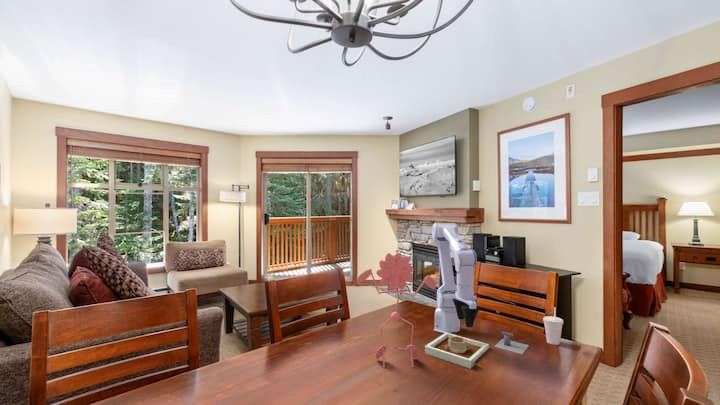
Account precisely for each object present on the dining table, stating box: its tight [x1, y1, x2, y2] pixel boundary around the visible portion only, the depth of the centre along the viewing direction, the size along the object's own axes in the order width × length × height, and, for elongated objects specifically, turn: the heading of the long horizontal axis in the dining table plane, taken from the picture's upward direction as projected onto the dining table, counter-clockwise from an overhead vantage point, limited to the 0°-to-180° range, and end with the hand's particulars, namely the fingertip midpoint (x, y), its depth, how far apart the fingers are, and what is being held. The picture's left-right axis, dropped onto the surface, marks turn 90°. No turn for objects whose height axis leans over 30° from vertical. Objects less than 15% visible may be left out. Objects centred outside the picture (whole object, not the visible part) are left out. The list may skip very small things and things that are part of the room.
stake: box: [494, 330, 529, 355], centre depth 116 cm, size 9×9×5 cm
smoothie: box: [542, 306, 564, 346], centre depth 119 cm, size 6×6×14 cm
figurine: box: [356, 252, 438, 368], centre depth 110 cm, size 15×26×35 cm, turn 92°
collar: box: [444, 335, 471, 354], centre depth 113 cm, size 8×6×4 cm
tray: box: [424, 333, 490, 369], centre depth 113 cm, size 16×16×2 cm
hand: (465, 322), depth 116 cm, fingers open, 7 cm apart
